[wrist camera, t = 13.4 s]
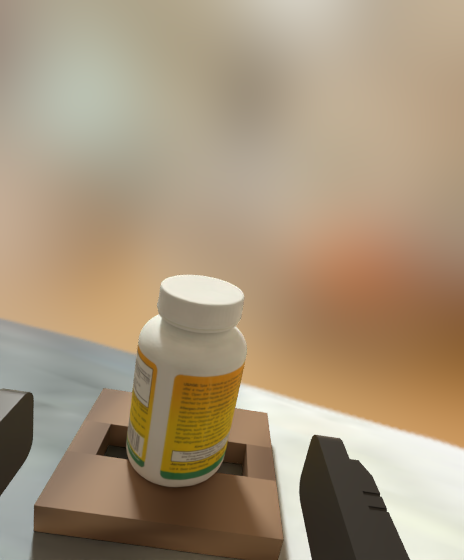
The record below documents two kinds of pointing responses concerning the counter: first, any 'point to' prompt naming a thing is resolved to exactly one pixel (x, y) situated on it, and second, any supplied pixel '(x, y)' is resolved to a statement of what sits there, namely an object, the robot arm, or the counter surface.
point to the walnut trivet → (164, 492)
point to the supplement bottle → (186, 381)
